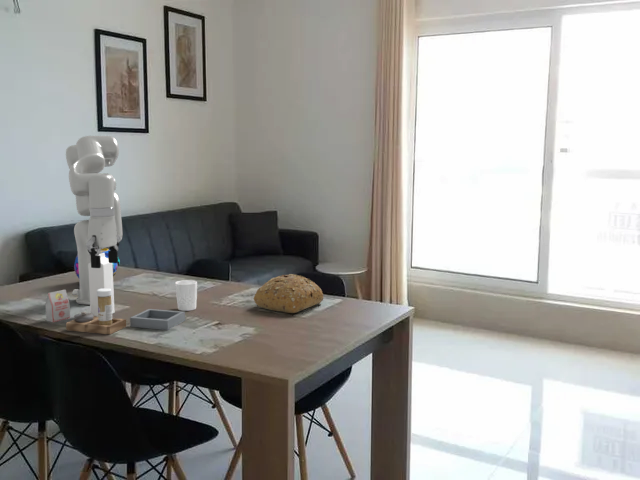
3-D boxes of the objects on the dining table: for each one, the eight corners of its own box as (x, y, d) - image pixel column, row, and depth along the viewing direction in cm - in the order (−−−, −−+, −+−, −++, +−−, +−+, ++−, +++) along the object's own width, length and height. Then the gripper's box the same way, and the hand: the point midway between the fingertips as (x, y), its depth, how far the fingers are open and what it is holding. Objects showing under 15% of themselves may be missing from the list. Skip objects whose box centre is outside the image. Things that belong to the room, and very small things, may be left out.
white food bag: (46, 320, 226) (44, 292, 225) (63, 316, 232) (62, 288, 230) (52, 322, 224) (51, 293, 223) (70, 318, 230) (68, 290, 228)
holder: (66, 330, 215) (65, 315, 214) (84, 322, 224) (83, 308, 223) (110, 334, 210) (109, 319, 210) (126, 326, 219) (125, 311, 219)
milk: (90, 316, 232) (86, 254, 229) (100, 311, 238) (96, 252, 235) (106, 317, 231) (102, 255, 228) (115, 312, 237) (112, 252, 233)
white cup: (192, 311, 238) (192, 285, 237) (172, 310, 240) (171, 284, 238) (201, 306, 246) (200, 280, 245) (181, 305, 248) (180, 279, 246)
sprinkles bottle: (95, 329, 216) (93, 289, 214) (108, 326, 219) (106, 287, 217) (103, 332, 213) (101, 291, 211) (116, 329, 216) (114, 289, 214)
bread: (295, 317, 232) (295, 284, 230) (248, 309, 243) (247, 277, 241) (331, 303, 252) (331, 272, 250) (285, 296, 264) (285, 266, 262)
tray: (130, 326, 219) (130, 317, 219) (149, 317, 231) (148, 308, 230) (167, 330, 215) (167, 320, 215) (185, 320, 227) (184, 311, 226)
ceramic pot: (110, 288, 275) (109, 253, 273) (68, 288, 276) (66, 253, 273) (123, 279, 293) (122, 246, 290) (84, 279, 293) (82, 246, 291)
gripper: (107, 210, 221) (109, 260, 223) (75, 215, 204) (78, 269, 206) (127, 210, 219) (129, 261, 221) (96, 215, 202) (99, 270, 204)
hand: (104, 265), depth 214 cm, fingers open, 9 cm apart
